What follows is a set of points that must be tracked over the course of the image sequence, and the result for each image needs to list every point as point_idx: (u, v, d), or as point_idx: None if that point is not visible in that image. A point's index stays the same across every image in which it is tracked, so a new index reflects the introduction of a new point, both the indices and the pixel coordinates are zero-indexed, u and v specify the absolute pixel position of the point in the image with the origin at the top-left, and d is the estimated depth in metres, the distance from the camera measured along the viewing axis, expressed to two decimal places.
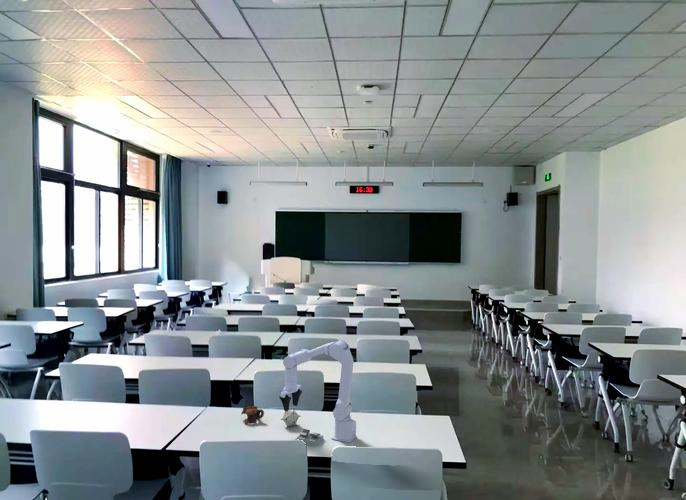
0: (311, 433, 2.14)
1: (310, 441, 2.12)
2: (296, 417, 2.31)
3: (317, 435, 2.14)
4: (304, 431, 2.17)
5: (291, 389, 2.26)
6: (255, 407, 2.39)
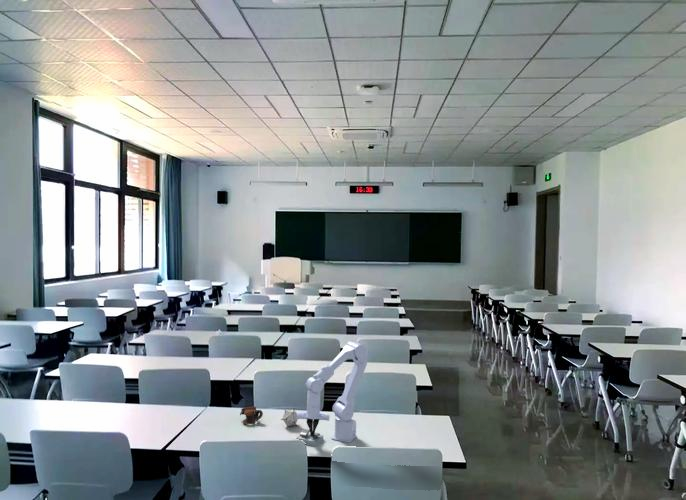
0: None
1: (310, 441, 2.12)
2: None
3: (317, 435, 2.14)
4: (304, 431, 2.17)
5: (307, 414, 2.11)
6: (254, 408, 2.38)
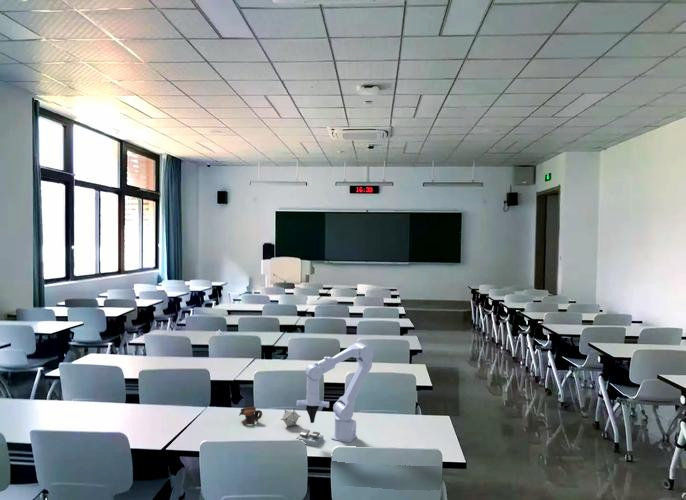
0: (311, 434, 2.14)
1: (310, 441, 2.12)
2: (296, 417, 2.31)
3: (317, 435, 2.14)
4: (304, 431, 2.17)
5: (307, 401, 2.12)
6: (253, 408, 2.38)
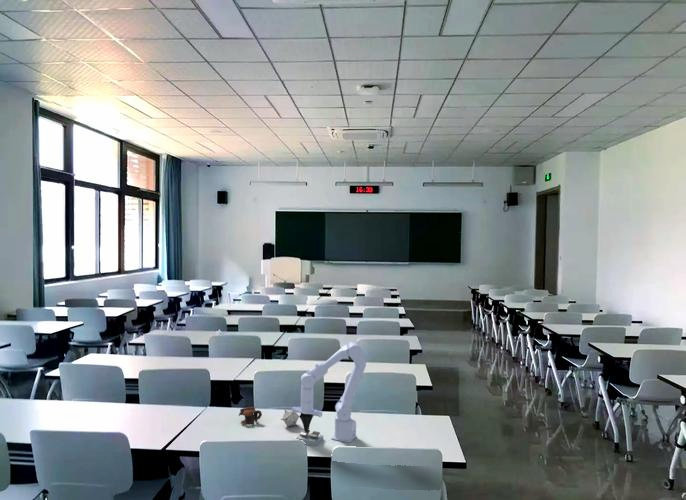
0: (311, 435, 2.14)
1: (310, 441, 2.12)
2: (296, 417, 2.31)
3: (317, 436, 2.14)
4: (304, 431, 2.17)
5: (300, 408, 2.17)
6: (253, 408, 2.37)
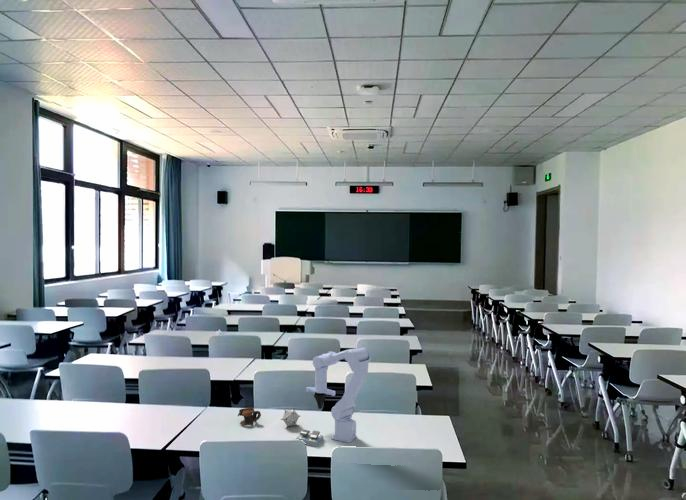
0: (310, 436, 2.14)
1: (310, 441, 2.12)
2: (296, 417, 2.31)
3: (317, 436, 2.14)
4: (304, 431, 2.18)
5: (315, 388, 2.30)
6: (252, 409, 2.37)
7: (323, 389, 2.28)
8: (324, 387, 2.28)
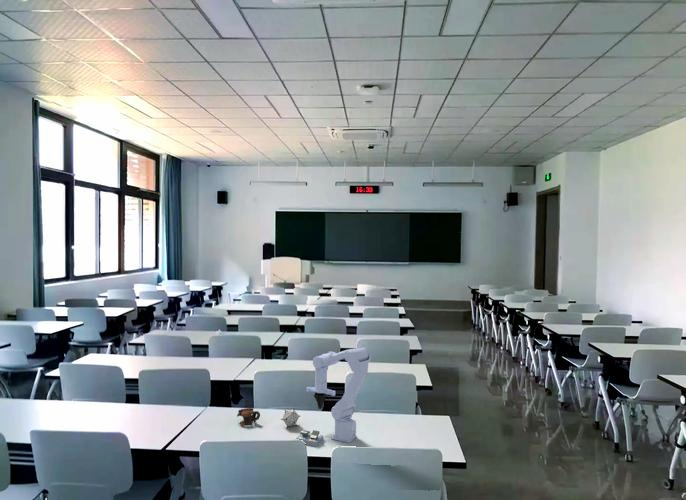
0: (310, 437, 2.14)
1: (310, 441, 2.12)
2: (296, 417, 2.31)
3: (317, 436, 2.14)
4: (304, 431, 2.18)
5: (315, 388, 2.30)
6: (251, 409, 2.36)
7: (323, 389, 2.28)
8: (324, 387, 2.28)
